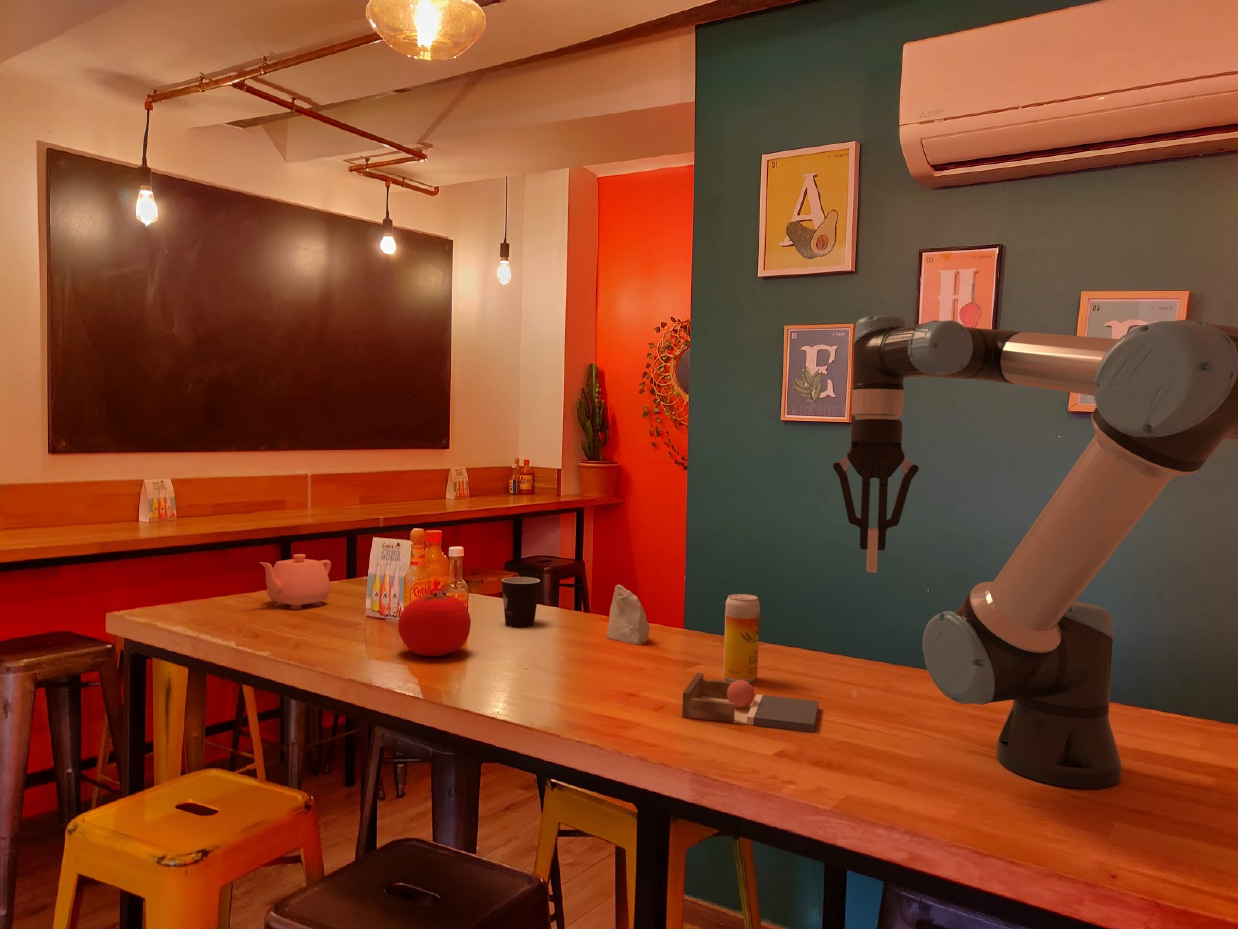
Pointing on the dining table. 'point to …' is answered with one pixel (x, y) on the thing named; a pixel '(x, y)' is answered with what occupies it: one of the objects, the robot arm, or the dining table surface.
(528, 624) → the coffee mug
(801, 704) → the lane mat
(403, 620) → the tomato
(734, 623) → the beer can
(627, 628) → the stone
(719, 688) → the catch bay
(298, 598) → the teapot
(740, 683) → the ball
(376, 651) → the dining table surface
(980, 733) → the dining table surface
